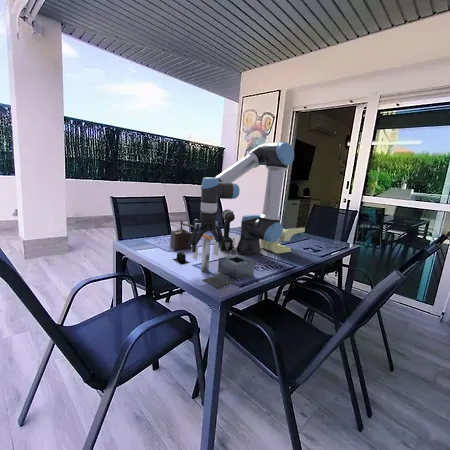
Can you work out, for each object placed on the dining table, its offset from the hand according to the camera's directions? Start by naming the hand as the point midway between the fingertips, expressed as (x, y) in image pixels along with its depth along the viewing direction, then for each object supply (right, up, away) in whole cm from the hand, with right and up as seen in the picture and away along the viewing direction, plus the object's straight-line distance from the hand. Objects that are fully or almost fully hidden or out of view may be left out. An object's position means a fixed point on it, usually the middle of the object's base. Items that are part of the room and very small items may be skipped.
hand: (205, 256), depth 124 cm
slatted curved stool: (+42, -1, +46) cm, 62 cm away
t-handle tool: (-1, -7, +1) cm, 7 cm away
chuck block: (+14, -8, 0) cm, 16 cm away
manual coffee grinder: (-16, +1, +38) cm, 41 cm away
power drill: (+10, -1, +37) cm, 38 cm away
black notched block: (-14, -4, +12) cm, 19 cm away
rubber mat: (+6, -10, -11) cm, 16 cm away
